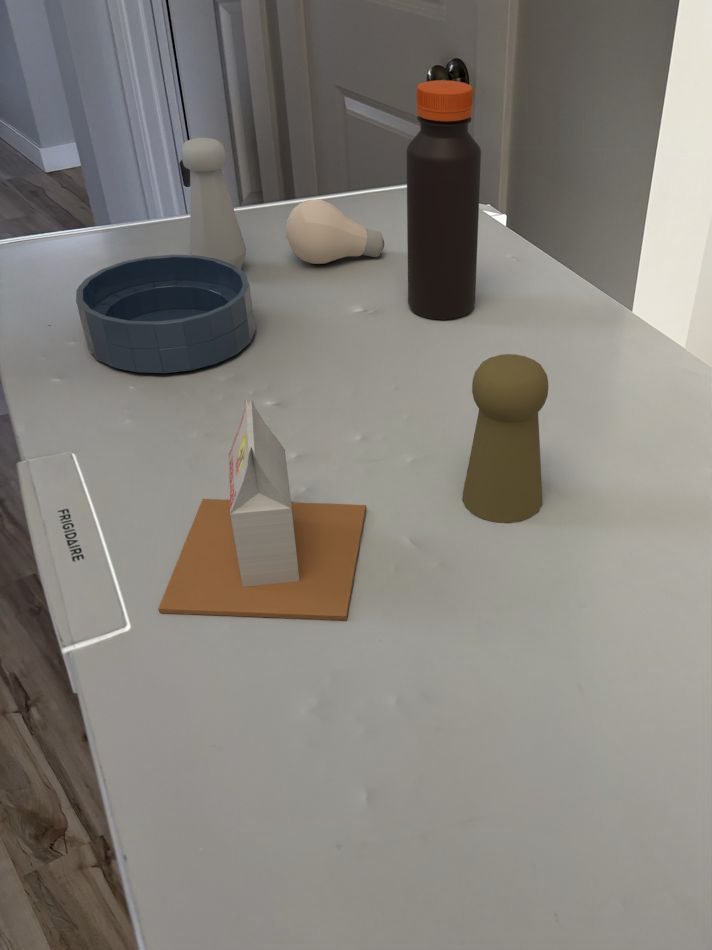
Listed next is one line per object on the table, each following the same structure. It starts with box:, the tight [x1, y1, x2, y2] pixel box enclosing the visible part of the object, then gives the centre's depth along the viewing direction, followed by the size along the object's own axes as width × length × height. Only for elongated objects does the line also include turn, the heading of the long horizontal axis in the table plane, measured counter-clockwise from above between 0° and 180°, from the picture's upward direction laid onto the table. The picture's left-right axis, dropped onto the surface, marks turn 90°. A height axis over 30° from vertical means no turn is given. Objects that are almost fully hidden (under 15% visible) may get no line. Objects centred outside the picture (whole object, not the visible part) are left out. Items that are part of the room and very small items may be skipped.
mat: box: [158, 498, 367, 621], centre depth 63 cm, size 12×12×1 cm
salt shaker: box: [181, 137, 247, 271], centre depth 95 cm, size 6×6×13 cm
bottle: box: [406, 79, 482, 321], centre depth 87 cm, size 7×7×20 cm
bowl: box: [75, 254, 256, 374], centre depth 86 cm, size 15×15×5 cm
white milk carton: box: [228, 397, 299, 587], centre depth 60 cm, size 4×7×10 cm, turn 11°
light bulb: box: [285, 199, 385, 265], centre depth 101 cm, size 7×7×11 cm
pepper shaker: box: [461, 353, 549, 524], centre depth 66 cm, size 6×6×11 cm
